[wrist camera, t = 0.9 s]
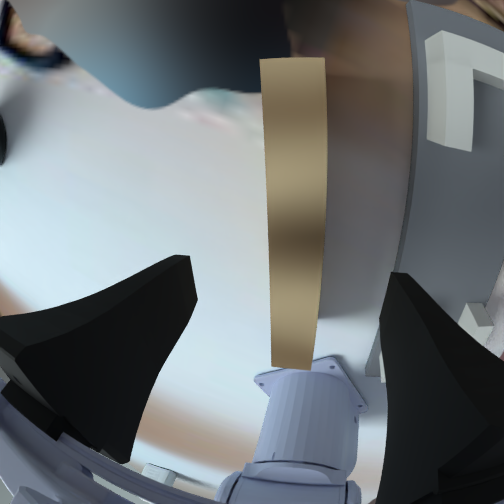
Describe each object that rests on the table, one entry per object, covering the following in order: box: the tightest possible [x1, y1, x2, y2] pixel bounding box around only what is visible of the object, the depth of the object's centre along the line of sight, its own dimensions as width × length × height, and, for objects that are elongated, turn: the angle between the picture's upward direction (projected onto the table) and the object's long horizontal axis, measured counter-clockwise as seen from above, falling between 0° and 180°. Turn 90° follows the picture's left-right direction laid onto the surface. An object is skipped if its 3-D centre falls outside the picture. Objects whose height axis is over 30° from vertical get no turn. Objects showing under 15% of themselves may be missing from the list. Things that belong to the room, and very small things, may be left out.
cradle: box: [365, 0, 504, 383], centre depth 13 cm, size 26×8×4 cm, turn 3°
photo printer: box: [139, 464, 177, 504], centre depth 53 cm, size 10×4×12 cm, turn 113°
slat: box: [260, 58, 327, 371], centre depth 14 cm, size 16×2×5 cm, turn 3°
